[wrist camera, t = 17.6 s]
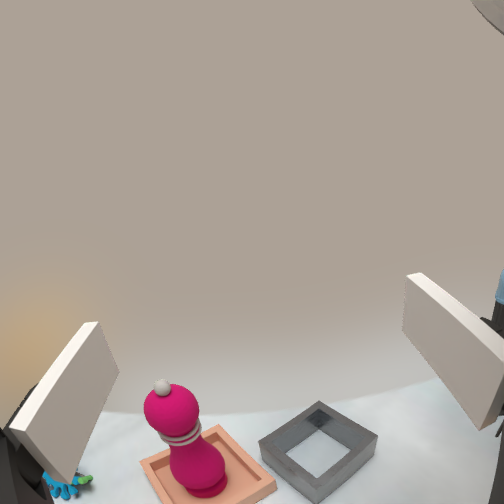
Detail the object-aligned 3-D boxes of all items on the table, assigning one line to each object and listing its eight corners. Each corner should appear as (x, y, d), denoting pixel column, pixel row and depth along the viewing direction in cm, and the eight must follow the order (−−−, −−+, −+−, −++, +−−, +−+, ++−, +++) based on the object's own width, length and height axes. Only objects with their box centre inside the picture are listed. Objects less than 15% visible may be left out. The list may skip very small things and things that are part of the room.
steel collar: (319, 420, 44) (318, 400, 43) (373, 455, 35) (378, 435, 34) (262, 460, 38) (258, 441, 37) (315, 505, 29) (316, 489, 28)
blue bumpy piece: (29, 484, 28) (29, 432, 33) (50, 480, 34) (51, 432, 38) (81, 512, 27) (82, 456, 32) (100, 504, 32) (102, 453, 37)
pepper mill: (170, 486, 33) (113, 387, 28) (201, 455, 39) (160, 353, 33) (210, 509, 30) (158, 415, 24) (241, 474, 35) (209, 372, 29)
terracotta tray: (222, 435, 44) (218, 424, 43) (277, 489, 33) (275, 479, 32) (146, 471, 37) (139, 461, 36) (188, 538, 25) (180, 531, 25)
